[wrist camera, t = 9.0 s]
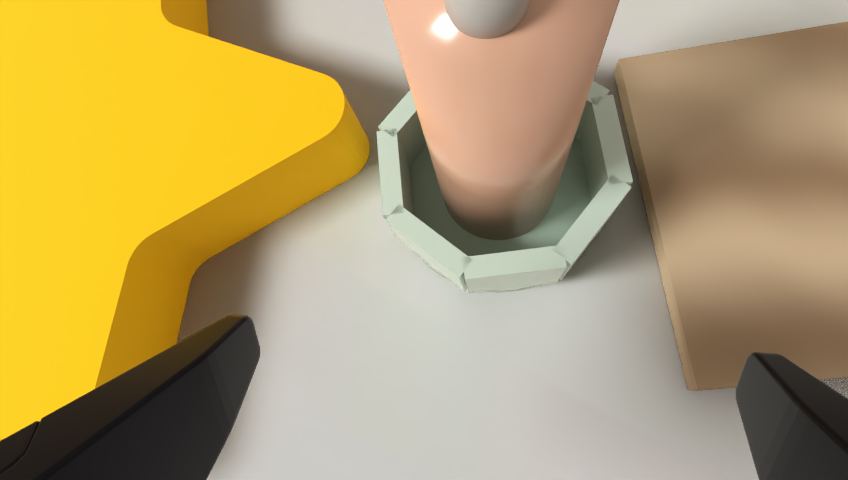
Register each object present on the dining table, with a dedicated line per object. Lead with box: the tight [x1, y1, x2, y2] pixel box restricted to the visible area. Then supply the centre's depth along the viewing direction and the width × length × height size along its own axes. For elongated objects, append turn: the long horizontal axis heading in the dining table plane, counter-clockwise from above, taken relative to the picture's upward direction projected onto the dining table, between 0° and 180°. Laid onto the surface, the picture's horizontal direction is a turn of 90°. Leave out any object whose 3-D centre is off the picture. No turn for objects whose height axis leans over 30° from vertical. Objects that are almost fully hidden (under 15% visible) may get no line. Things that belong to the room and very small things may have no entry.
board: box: [614, 22, 848, 391], centre depth 19 cm, size 14×10×1 cm
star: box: [0, 0, 370, 440], centre depth 23 cm, size 30×4×29 cm
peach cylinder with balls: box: [383, 0, 619, 240], centre depth 15 cm, size 5×5×13 cm
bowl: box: [376, 81, 633, 293], centre depth 20 cm, size 9×9×4 cm
